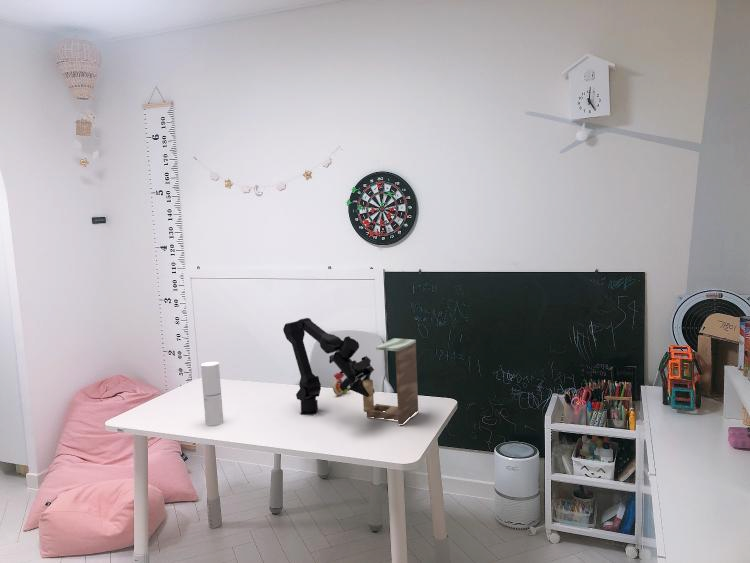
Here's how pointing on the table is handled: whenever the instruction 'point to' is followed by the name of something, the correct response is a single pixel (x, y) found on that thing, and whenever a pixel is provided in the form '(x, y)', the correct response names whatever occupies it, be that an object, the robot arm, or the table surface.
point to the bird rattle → (336, 384)
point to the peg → (369, 401)
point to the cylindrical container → (212, 393)
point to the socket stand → (401, 381)
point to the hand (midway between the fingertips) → (371, 394)
